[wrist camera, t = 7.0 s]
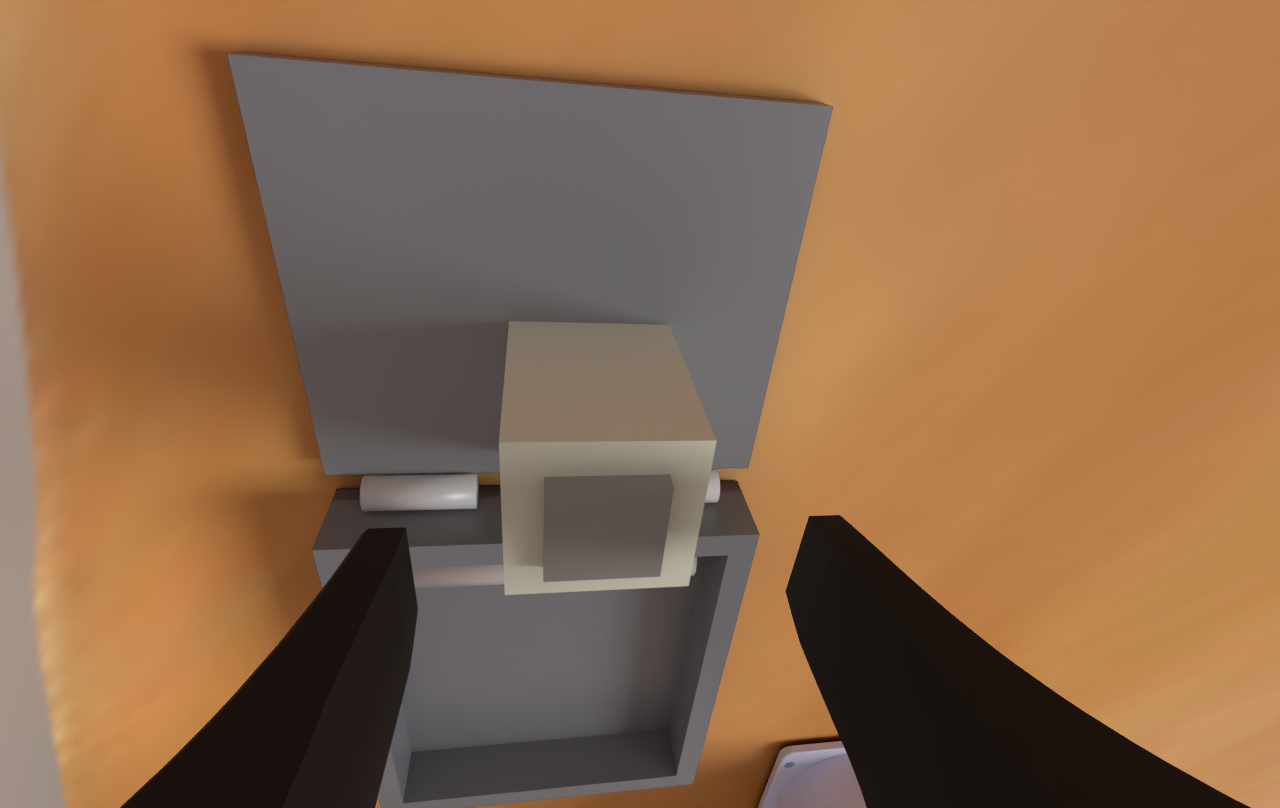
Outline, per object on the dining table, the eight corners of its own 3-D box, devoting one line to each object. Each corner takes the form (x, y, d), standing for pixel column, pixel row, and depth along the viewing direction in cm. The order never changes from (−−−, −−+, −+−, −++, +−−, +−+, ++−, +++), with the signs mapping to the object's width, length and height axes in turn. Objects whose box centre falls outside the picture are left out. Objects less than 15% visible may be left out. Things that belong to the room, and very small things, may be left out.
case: (681, 727, 27) (692, 784, 25) (394, 751, 25) (383, 816, 23) (737, 480, 20) (759, 534, 18) (336, 488, 18) (311, 550, 16)
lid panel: (737, 480, 20) (748, 508, 19) (336, 488, 18) (324, 520, 17) (822, 103, 14) (846, 111, 13) (240, 52, 12) (211, 57, 11)
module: (653, 450, 18) (692, 600, 13) (512, 451, 17) (504, 610, 13) (669, 324, 16) (722, 453, 11) (508, 320, 15) (497, 455, 11)
